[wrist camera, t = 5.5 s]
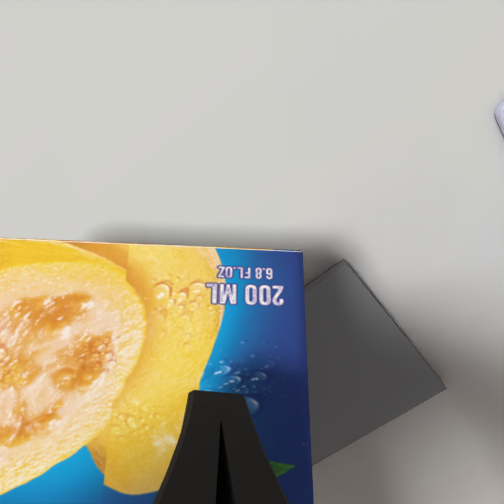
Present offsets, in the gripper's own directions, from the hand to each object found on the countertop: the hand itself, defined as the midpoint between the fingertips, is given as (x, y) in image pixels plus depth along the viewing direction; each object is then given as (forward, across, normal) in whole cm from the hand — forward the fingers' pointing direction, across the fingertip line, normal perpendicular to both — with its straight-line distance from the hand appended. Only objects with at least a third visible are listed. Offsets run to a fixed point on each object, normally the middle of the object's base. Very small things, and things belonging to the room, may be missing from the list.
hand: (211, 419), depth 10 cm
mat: (+9, -7, +7) cm, 14 cm away
